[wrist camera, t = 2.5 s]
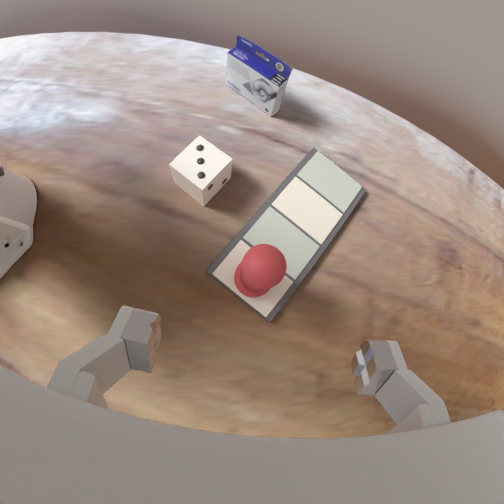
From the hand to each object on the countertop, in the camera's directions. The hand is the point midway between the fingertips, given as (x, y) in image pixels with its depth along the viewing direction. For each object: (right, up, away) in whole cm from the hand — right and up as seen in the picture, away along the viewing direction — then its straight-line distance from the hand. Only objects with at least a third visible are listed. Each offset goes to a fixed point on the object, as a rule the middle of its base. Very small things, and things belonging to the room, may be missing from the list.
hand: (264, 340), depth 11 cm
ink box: (-1, +31, +37) cm, 48 cm away
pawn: (0, 0, +29) cm, 29 cm away
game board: (+6, +7, +33) cm, 34 cm away
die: (-8, +14, +33) cm, 36 cm away
